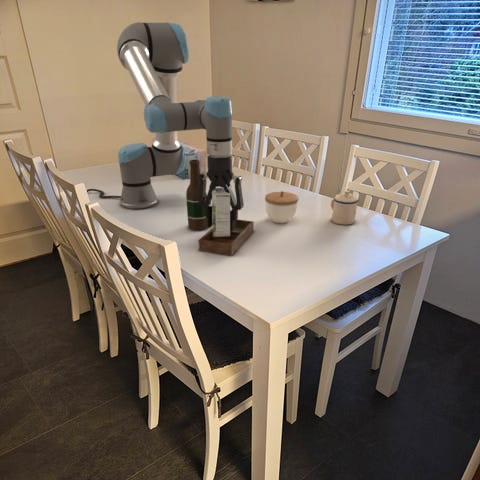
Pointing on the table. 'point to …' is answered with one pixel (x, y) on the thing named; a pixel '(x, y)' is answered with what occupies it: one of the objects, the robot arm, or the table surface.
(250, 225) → the tray
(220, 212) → the syrup box
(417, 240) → the table surface
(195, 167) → the beer bottle
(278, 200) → the lidded bowl
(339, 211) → the teacup with lid
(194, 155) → the soda box
